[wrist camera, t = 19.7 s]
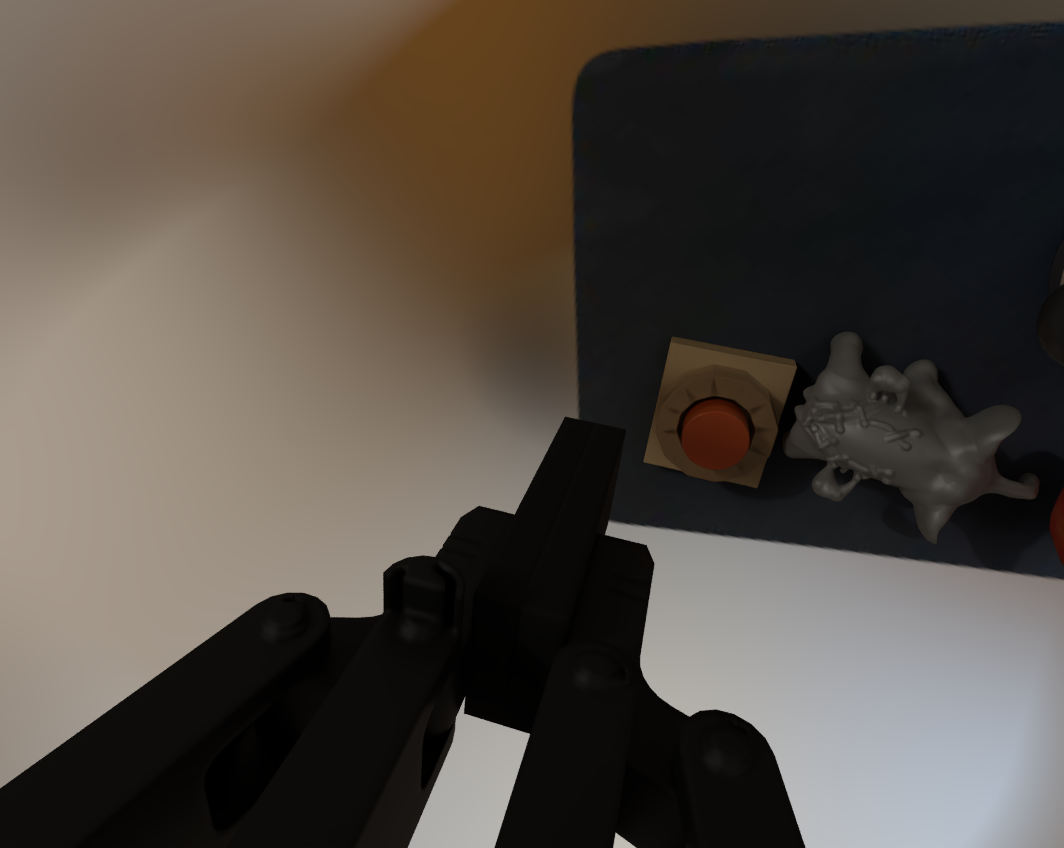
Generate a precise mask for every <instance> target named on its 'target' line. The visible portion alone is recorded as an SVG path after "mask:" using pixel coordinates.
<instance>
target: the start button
mask: <svg viewBox="0 0 1064 848" xmlns="http://www.w3.org/2000/svg"><path fill="white" fill-rule="evenodd" d="M681 442H682V447H683V450H684V452H685V454H686V456H687V457H688V458H689V459H690V460H691V461H692V462H693V463H695V464H696V465H698V466H700V467H702V468H705V469H710V470H722V469H726V468H729V467H732V466H734V465H736V464H737V463H738V462H740V461H741V460H742V459H743V458H744V456H745V455H746V453H747V451H748V449H749V445H750V436H749V426H748V421H747V418H746V416H745V414H744V413H743V412H742V410H741V409H740V408H739V407H737V406H736V405H734V404H733V403H731V402H728V401H725V400H719V399H713V400H707V401H703V402H701V403H699V404H697V405H695V406H694V407H693V408H692V409H691V410H690V411H689V412H688V413H687V415H686V417H685V419H684V422H683V429H682V440H681Z"/></svg>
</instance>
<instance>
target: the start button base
mask: <svg viewBox="0 0 1064 848" xmlns="http://www.w3.org/2000/svg"><path fill="white" fill-rule="evenodd" d="M796 369H797V366H796V362H795V360H792V359H786V358H781V357H776V356H771V355H766V354H761V353H755V352H750V351H745V350H740V349H735V348H730V347H724V346H719V345H714V344H709V343H704V342H699V341H694V340H688V339H683V338H678V337H672V338H671V343H670V347H669V352H668V356H667V360H666V365H665V369H664V373H663V378H662V382H661V387H660V391H659V395H658V400H657V404H656V408H655V413H654V417H653V422H652V426H651V430H650V435H649V439H648V443H647V448H646V452H645V457H644V462H645V463H650V464H654V465H658V466H663V467H667V468H671V469H676V470H680V471H682V472H684V473H685V474H686V475H688V476H692V477H696V478H701V479H705V480H709V481H714V482H716V481H717V482H720V481H728V482H732V483H737V484H741V485H746V486H750V487H754V488H757V487H758V485H759V482H760V479H761V476H762V472H763V469H764V466H765V463H766V460H767V458H769V456H770V454H771V451H772V448H773V445H774V442H775V439H776V436H777V433H778V424H779V421H780V418H781V415H782V412H783V409H784V406H785V403H786V400H787V397H788V394H789V391H790V387H791V384H792V381H793V378H794V375H795V372H796ZM713 399H719V400H725V401H728V402H731V403H733V404H734V405H736V406H737V407H739V408H740V409H741V410H742V412H743V413H744V414H745V416H746V418H747V421H748V426H749V436H750V445H749V449H748V451H747V453H746V455H745V456H744V458H743V459H742V460H741V461H740V462H738V463H737V464H736V465H734V466H732V467H729V468H726V469H722V470H710V469H705V468H702V467H700V466H698V465H696V464H695V463H693V462H692V461H691V460H690V459H689V458H688V457H687V456H686V454H685V452H684V450H683V447H682V442H681V440H682V429H683V422H684V419H685V417H686V415H687V413H688V412H689V411H690V410H691V409H692V408H693V407H694V406H695V405H697V404H699V403H701V402H703V401H707V400H713Z"/></svg>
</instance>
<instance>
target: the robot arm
mask: <svg viewBox="0 0 1064 848" xmlns="http://www.w3.org/2000/svg"><path fill="white" fill-rule="evenodd" d="M625 433H626V430H625V429H621V428H616V427H611V426H607V425H602V424H597V423H593V422H588V421H583V420H578V419H574V418H569V417H565V418H564V420H563V422H562V424H561V426H560V428H559V430H558V432H557V433H556V435H555V437H554V439H553V441H552V443H551V445H550V447H549V449H548V451H547V453H546V455H545V457H544V459H543V461H542V463H541V464H540V466H539V468H538V470H537V472H536V474H535V476H534V478H533V480H532V482H531V484H530V486H529V488H528V490H527V492H526V494H525V495H524V497H523V499H522V501H521V503H520V505H519V507H518V509H517V511H516V513H515V515H514V514H510V513H506V512H502V511H498V510H494V509H490V508H486V507H482V506H478V507H476V508H475V509H473V510H472V511H470V512H468V513H467V514H465V515H464V516H462V517H461V518H460V520H459V521H458V523H457V524H456V526H455V527H454V529H453V530H452V532H451V535H450V536H449V537H448V538H447V540H446V541H445V543H444V544H443V547H442V549H440V551H439V552H438V554H437V555H436V557H430V556H416V557H409V558H405V559H403V560H401V561H398V562H396V563H394V564H392V565H391V566H390V567H389V568H388V569H387V570H386V571H385V572H384V573H383V574H384V575H383V580H384V581H383V582H384V583H383V585H384V586H383V587H384V589H383V591H384V612H383V614H381V615H378V616H374V617H362V618H345V617H339V618H338V617H330V614H329V611H328V608H327V605H326V604H324V603H323V602H322V601H321V600H320V599H319V598H317V597H315V596H312V595H309V594H306V593H284V594H280V595H276V596H272V597H269V598H268V599H266V600H264V601H262V602H260V603H258V604H256V605H255V606H253V607H252V608H251V609H249V610H248V611H246V612H245V613H244V614H243V615H241V616H240V617H238V618H237V619H236V620H234V621H233V622H231V623H230V624H228V625H227V626H226V627H224V628H223V629H221V630H220V631H219V632H217V633H216V634H215V635H213V636H212V637H210V638H209V639H208V640H206V641H205V642H203V643H202V644H201V645H199V646H198V647H196V648H195V649H194V650H192V651H191V652H190V653H188V654H187V655H185V656H184V657H183V658H181V659H180V660H179V661H177V662H176V663H174V664H173V665H171V666H170V667H169V668H167V669H166V670H164V671H163V672H162V673H160V674H159V675H158V676H156V677H155V678H153V679H152V680H151V681H149V682H148V683H147V684H145V685H144V686H143V687H141V688H140V689H138V690H137V691H135V692H134V693H132V694H131V695H130V696H129V697H127V698H126V699H124V700H123V701H121V702H120V703H119V704H117V705H116V706H114V707H113V708H112V709H110V710H109V711H107V712H106V713H105V714H103V715H102V716H100V717H99V718H98V719H96V720H95V721H93V722H92V723H91V724H89V725H88V726H86V727H85V728H84V729H82V730H81V731H80V732H78V733H77V734H76V735H74V736H73V737H71V738H70V739H68V740H67V741H66V742H64V743H63V744H61V745H60V746H59V747H57V748H56V749H54V750H53V751H52V752H50V753H49V754H48V755H46V756H45V757H43V758H42V759H41V760H39V761H38V762H36V763H35V764H34V765H32V766H31V767H30V768H28V769H27V770H25V771H24V772H22V773H21V774H20V775H18V776H17V777H16V778H14V779H13V780H11V781H10V782H9V783H7V784H6V785H4V786H3V787H2V788H0V848H408V845H409V843H410V841H411V838H412V836H413V834H414V831H415V829H416V826H417V824H418V822H419V820H420V817H421V815H422V813H423V810H424V808H425V805H426V803H427V801H428V798H429V796H430V794H431V791H432V789H433V787H434V784H435V782H436V780H437V777H438V775H439V772H440V770H441V768H442V766H443V763H444V761H445V758H446V756H447V754H448V751H449V749H450V747H451V744H452V742H453V736H454V732H455V720H456V716H457V714H458V712H459V709H460V707H461V705H462V702H463V700H464V698H465V708H464V714H468V715H471V716H474V717H477V718H480V719H484V720H487V721H490V722H494V723H497V724H500V725H503V726H506V727H510V728H513V729H516V730H520V731H522V732H526V733H529V734H530V737H529V740H528V743H527V746H526V750H525V753H524V756H523V759H522V762H521V765H520V768H519V772H518V775H517V778H516V781H515V784H514V787H513V791H512V794H511V797H510V800H509V803H508V807H507V810H506V813H505V816H504V819H503V823H502V826H501V829H500V832H499V836H498V839H497V842H496V845H495V848H613V845H614V838H615V832H616V833H617V834H618V835H620V836H621V837H623V838H624V839H625V840H627V841H628V842H630V843H631V844H632V845H634V846H635V847H636V848H805V845H804V842H803V839H802V836H801V833H800V830H799V827H798V824H797V821H796V818H795V815H794V812H793V810H792V806H791V803H790V800H789V797H788V794H787V791H786V788H785V785H784V782H783V779H782V776H781V773H780V770H779V767H778V764H777V761H776V758H775V756H774V753H773V751H772V750H771V748H770V746H769V744H768V742H767V740H766V738H765V737H763V735H762V734H761V733H759V731H758V730H757V729H756V728H755V727H754V726H753V725H752V724H750V723H749V722H747V721H745V720H743V719H742V718H740V717H738V716H736V715H735V714H732V713H728V712H724V711H720V710H706V711H699V712H697V713H695V714H693V715H692V716H690V717H689V716H687V715H685V714H684V713H682V712H680V711H679V710H677V709H675V708H674V707H672V706H670V705H669V704H668V703H666V702H665V701H663V700H662V699H661V698H659V697H658V696H657V694H656V693H654V691H653V690H652V689H651V688H650V687H649V685H648V684H647V682H646V680H645V679H644V677H643V674H642V671H641V667H640V654H641V648H642V641H643V635H644V628H645V622H646V614H647V608H648V601H649V596H650V589H651V583H652V576H653V570H654V562H653V559H652V557H651V555H650V552H649V550H648V548H647V545H644V544H640V543H635V542H631V541H627V540H623V539H619V538H615V537H610V536H607V535H605V532H606V529H607V525H608V521H609V516H610V511H611V506H612V500H613V495H614V490H615V485H616V480H617V475H618V470H619V464H620V459H621V454H622V449H623V444H624V439H625Z"/></svg>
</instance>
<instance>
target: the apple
mask: <svg viewBox="0 0 1064 848" xmlns="http://www.w3.org/2000/svg"><path fill="white" fill-rule="evenodd" d="M1049 529H1050V532H1051V535H1052V539H1053V542H1054V545H1055V548H1056V550H1057V553H1058V556H1059V558H1060V561H1061V563H1062V564H1063V565H1064V487H1063V489H1062V491H1061V493H1060V495H1059V497H1058V499H1057V500H1056V502H1055V505H1054V508H1053V511H1052V513H1051V520H1050V528H1049Z"/></svg>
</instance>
